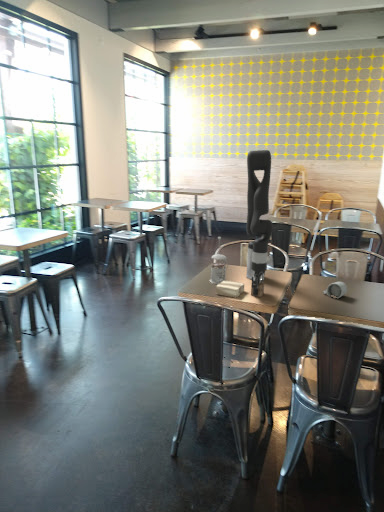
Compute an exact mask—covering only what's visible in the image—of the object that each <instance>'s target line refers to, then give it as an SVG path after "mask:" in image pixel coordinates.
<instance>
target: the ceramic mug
mask: <svg viewBox="0 0 384 512" xmlns="http://www.w3.org/2000/svg"><path fill="white" fill-rule="evenodd" d="M323 292H324V293H323ZM322 293H323V294H324V295H328V297H330V296H331V295H334V296H336V297H338V298H337V299H339V298H342V297H343V296H345V295H346V293H348V285H347V284H346V283H345V282H343V281H336V282H332V283H329V285H327V288H326V289H325V290H322Z"/></svg>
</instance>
